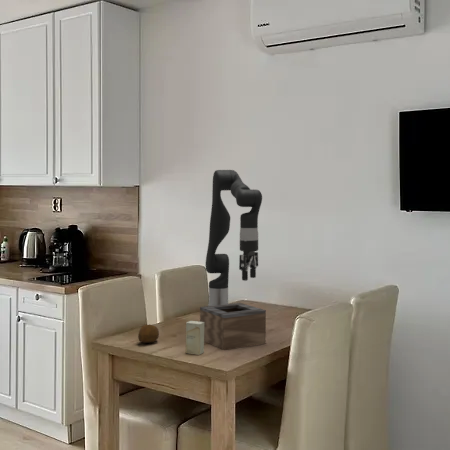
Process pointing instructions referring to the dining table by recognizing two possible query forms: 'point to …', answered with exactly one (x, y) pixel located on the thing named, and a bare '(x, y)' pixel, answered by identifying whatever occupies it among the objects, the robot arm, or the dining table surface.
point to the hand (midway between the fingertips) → (248, 279)
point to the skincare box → (195, 337)
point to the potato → (148, 334)
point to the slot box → (233, 325)
